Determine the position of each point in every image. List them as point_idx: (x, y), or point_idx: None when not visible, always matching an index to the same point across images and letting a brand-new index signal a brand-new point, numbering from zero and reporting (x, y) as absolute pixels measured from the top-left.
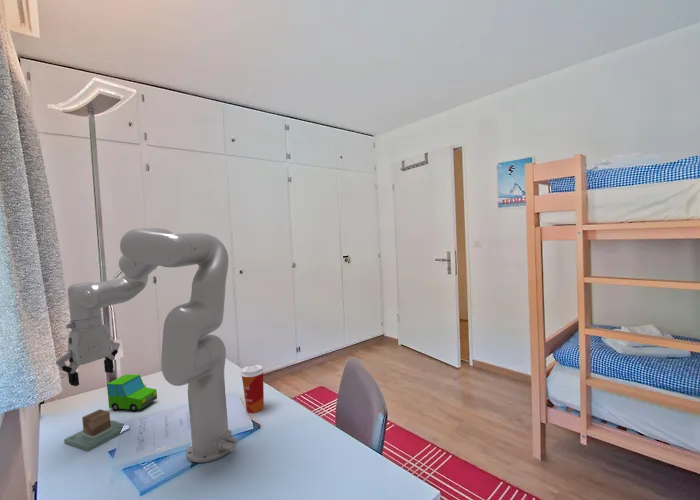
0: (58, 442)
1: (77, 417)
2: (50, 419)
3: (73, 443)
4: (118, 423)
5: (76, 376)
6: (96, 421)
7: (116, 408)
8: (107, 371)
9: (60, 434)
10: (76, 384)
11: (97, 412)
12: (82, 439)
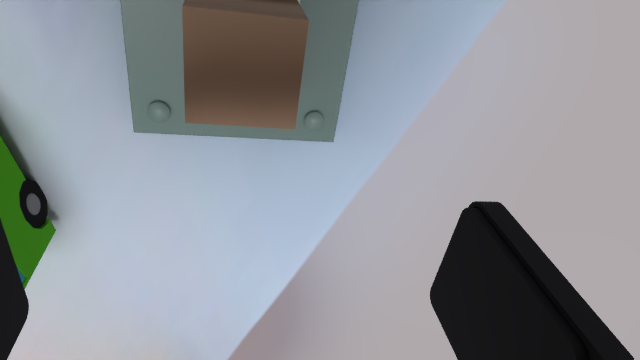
0: (329, 165)
1: (169, 287)
2: (220, 349)
3: (345, 66)
4: (129, 2)
5: (572, 298)
6: (278, 10)
7: (33, 194)
8: (6, 278)
9: (282, 218)
10: (504, 214)
11: (222, 91)
12: (316, 48)
